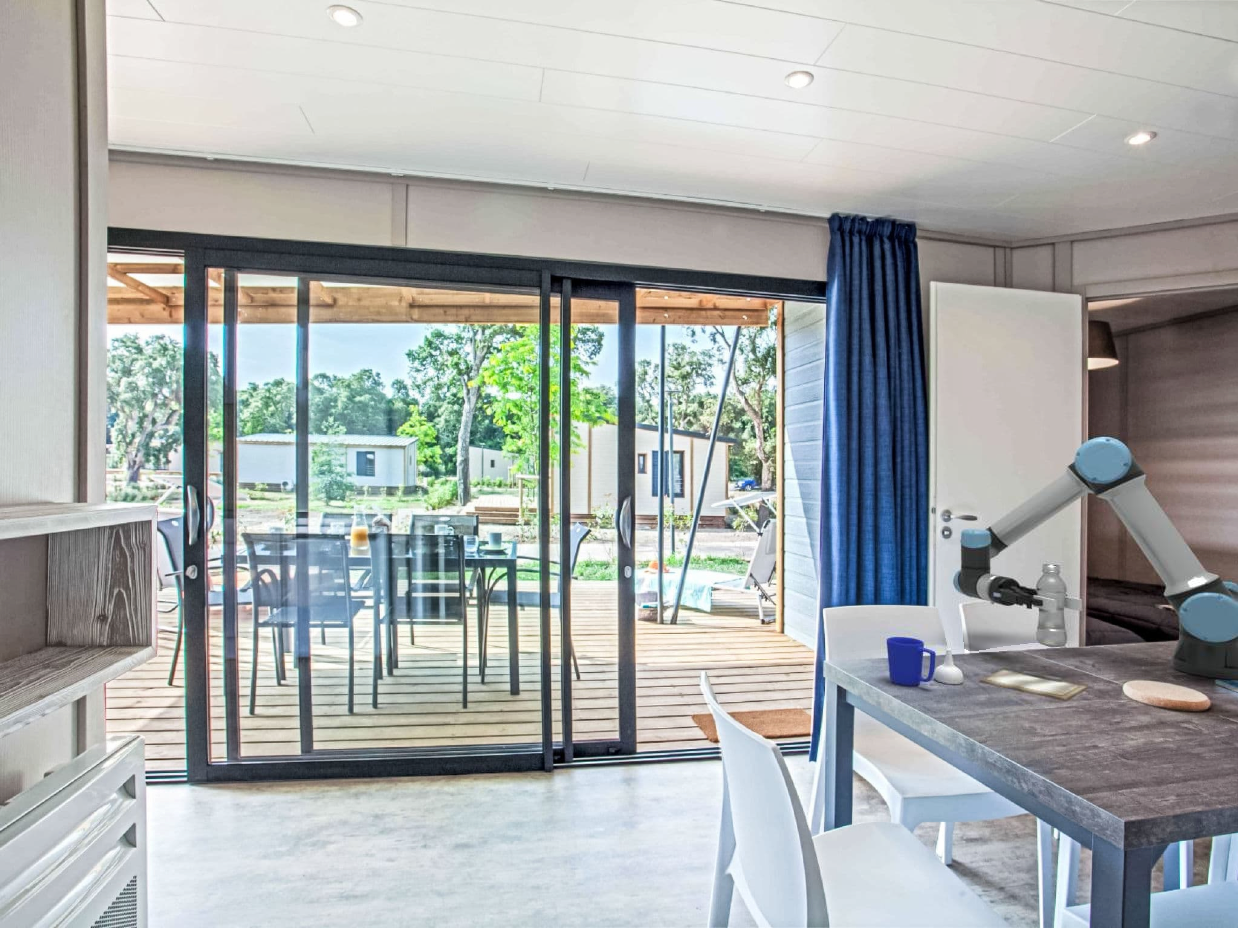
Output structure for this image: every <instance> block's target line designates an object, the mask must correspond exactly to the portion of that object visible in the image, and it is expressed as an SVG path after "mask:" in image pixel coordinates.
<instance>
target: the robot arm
mask: <svg viewBox="0 0 1238 928" xmlns="http://www.w3.org/2000/svg"><path fill="white" fill-rule="evenodd" d="M1131 452H1132V451H1130V449H1129V448H1128V447H1127V445H1125V443H1123V442H1122V441H1120V440H1118V439H1116V438H1113V437H1108V436H1101V437H1094V438H1092V439H1089V440H1087V441H1086V442H1084V443H1082V445H1080V446H1079V447H1078V449H1077V450H1076V452H1075V455H1074V460H1073V462H1072V463H1071V464H1069V465H1068V466H1066V470H1065V472H1064V473H1063V474H1062V475H1060V476H1059V477H1057V478H1056V479H1054V480H1053V481H1052V482H1050V483H1049V484H1047V485H1046V486H1045V487H1044V488H1042V489H1041V490H1039V491H1038V492H1037V493H1035V494H1033V495H1032V496H1031V497H1029V498H1028V499H1026V500H1025V501H1024V502H1023V503H1021V504H1019V505H1018V506H1017V507H1015V508H1014V509H1012V510H1011V511H1010V512H1009V513H1007V514H1006V515H1004V516H1003V517H1001V518H1000V519H998V520H997V521H996V522H994V523H993V524H991V525H990V526H989V527H987V528H985V529H977V528H969V529H965V528H964V529H963V530H962V531H961V534H960V540H959V542H960V569H959V570H958V571H956V572H955V574H954V577H953V579H952V584H953V586H954V589H955V590H956V592H958V593H960V594H962V595H965V596H966V597H969V598H974V599H978V600H983V601H986V602H990V605H994V604H999V605H1001V606H1004V607H1012V606H1014V605H1017V606H1021V607H1022V606H1024V605H1025V606H1026V609H1028V610H1033V607H1034V608H1038V609H1039V608H1041V609H1045V610H1050V611H1054V612H1056V611H1057V600H1054V599H1049V598H1045V597H1040V596H1038V595H1037V589H1036V588H1030V587H1027V586H1025V585H1021V584H1020V583H1019V582H1018V581H1017V580H1016V579H1014V578H1012V577H1008V576H1007V577H1006V576H1002V575H999V574H992V573H991V569H992V568H991V567H992V566H991V559H994V558H995V557H997V556H999V554H1000V553H1001V552H1003V551H1004V550H1005V549H1007V548H1009V547H1010V546H1011V545H1014V543H1016V542H1018V541H1019V540H1020V539H1021V538H1023V537H1025V536H1026V535H1028V534H1029V533H1030V532H1031V531H1033V530H1035V529H1036V528H1038V527H1039V526H1040V525H1042V524H1044V523H1045V522H1046V521H1048V520H1049V519H1051V518H1052V517H1054V516H1055V515H1057V514H1058V513H1060V512H1061V511H1062V510H1063V511H1064V509H1066V508H1067V507H1069V506H1071V505H1072V504H1073V503H1074V502H1076V501H1077V500H1079V499H1081V498H1082V497H1083V496H1086V494H1095V496H1096V497H1097V498H1099V499H1104V500H1106V501H1107V502H1108V503H1109V505H1110V506H1111V508H1112V509H1113V511H1115V513H1116V515H1117V517H1118V518H1119V519H1120V521H1121V522H1122V524H1123V525H1124V526H1125V528H1126V530H1128V532H1129V534H1130V535H1131V536H1132V538H1133V539H1134V540H1135V542H1136V543H1137V545H1138V547H1139V548H1140V550H1141V551H1142V553H1143V554H1144V555H1145V557H1146V558H1147V560H1148V561H1149V563H1150V564H1151V566H1152V567H1153V569H1154V570H1155V572H1156V573H1157V575H1158V576H1159V577H1160V579H1161V580H1162V582H1163V583H1164V584H1165V590H1164V592H1163V596H1164V597H1165V598H1166V600H1167V601H1168V604H1170V606H1171V607H1172V609H1173V611H1174V612H1175V614H1177V616H1178V620H1179V621H1178V622H1179V623H1178V624H1179V625H1178V626H1179V630H1178V631H1179V639H1178V640H1177V643H1176V644H1175V645H1176V646H1175V648H1174V650H1173V653H1172V655H1171V658H1170V659H1171V660H1170V661H1171V665H1170V666H1171V667H1172V668H1173V669H1175V670H1177V671H1180V672H1183V673H1187V674H1190V675H1195V676H1199V677H1206V678H1213V679H1222V680H1223V679H1224V680H1238V584H1237V583H1235V582H1231V581H1224V580H1223V579H1221V577H1220V576H1219V575H1218V574H1215V573H1211V572H1209V571H1207V570H1206V569H1205V567H1204V566H1203V565H1202V563H1201V562H1200V561H1199V559H1198V558H1197V556H1196V555H1195V553H1194V552H1193V550H1191V548H1190V547H1189V546H1188V544H1187V543H1186V541H1185V540H1184V538H1183V537H1182V536H1181V534H1180V533H1179V531H1178V530H1177V528H1176V527H1175V526H1174V525H1173V523H1172V522H1171V520H1170V519H1169V517H1168V516H1167V515H1166V513H1165V512H1164V510H1163V509H1162V508H1161V506H1160V505H1159V503H1158V502H1157V500H1156V499H1155V497H1154V496H1153V495H1152V494H1151V492H1150V490H1149V489H1148V488H1147V486H1146V485H1145V481H1146V477H1147V475H1146V473H1145V471H1144V470H1143V468H1142V467H1141V465H1140V464H1139V463H1138V462H1137V460H1136V458H1135V457H1134V456H1133V455H1132V453H1131ZM1064 609H1070V610H1072V611H1078V612H1083V599H1081V598H1077V597H1071V596H1068V594H1067V593H1066V598H1065V606H1064Z"/></svg>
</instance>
